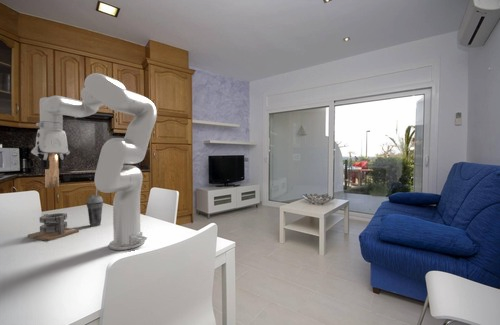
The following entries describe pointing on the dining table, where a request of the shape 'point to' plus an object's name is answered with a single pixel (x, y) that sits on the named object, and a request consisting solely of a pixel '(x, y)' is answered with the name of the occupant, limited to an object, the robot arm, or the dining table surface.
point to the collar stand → (53, 227)
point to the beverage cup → (95, 209)
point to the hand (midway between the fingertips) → (52, 168)
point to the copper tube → (52, 171)
